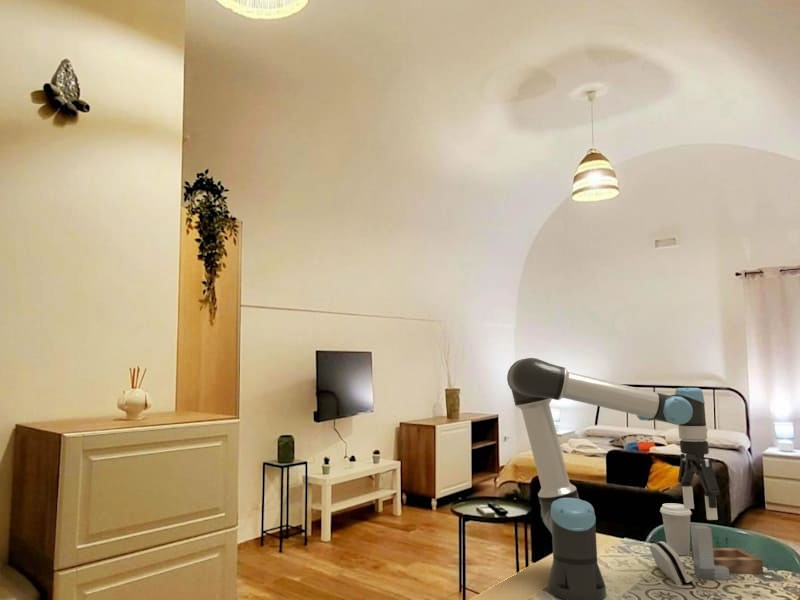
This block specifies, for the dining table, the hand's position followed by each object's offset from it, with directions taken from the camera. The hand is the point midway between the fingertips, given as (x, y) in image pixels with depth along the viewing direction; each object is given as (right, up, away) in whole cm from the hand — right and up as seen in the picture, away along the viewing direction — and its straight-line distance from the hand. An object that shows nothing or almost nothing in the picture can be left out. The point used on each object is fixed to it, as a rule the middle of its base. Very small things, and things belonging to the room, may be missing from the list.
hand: (700, 513), depth 166 cm
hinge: (-9, -18, 0) cm, 20 cm away
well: (+11, -19, +6) cm, 23 cm away
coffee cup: (+4, -21, +20) cm, 29 cm away
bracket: (+2, -17, -2) cm, 18 cm away
